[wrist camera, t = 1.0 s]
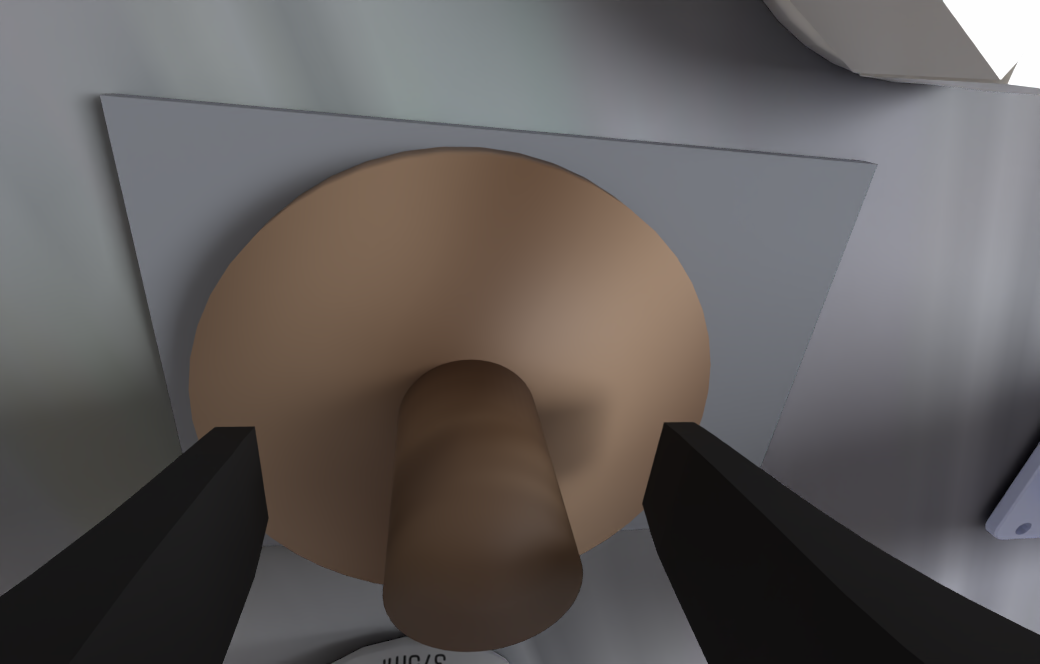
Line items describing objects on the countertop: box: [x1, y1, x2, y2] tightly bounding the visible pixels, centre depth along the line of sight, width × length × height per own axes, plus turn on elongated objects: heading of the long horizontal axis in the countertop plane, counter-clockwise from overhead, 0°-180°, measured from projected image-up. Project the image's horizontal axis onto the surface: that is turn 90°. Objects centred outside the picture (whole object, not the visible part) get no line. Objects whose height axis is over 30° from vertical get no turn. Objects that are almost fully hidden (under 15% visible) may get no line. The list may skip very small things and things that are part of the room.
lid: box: [189, 147, 711, 652], centre depth 10 cm, size 10×10×5 cm
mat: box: [100, 94, 878, 546], centre depth 12 cm, size 14×10×1 cm
